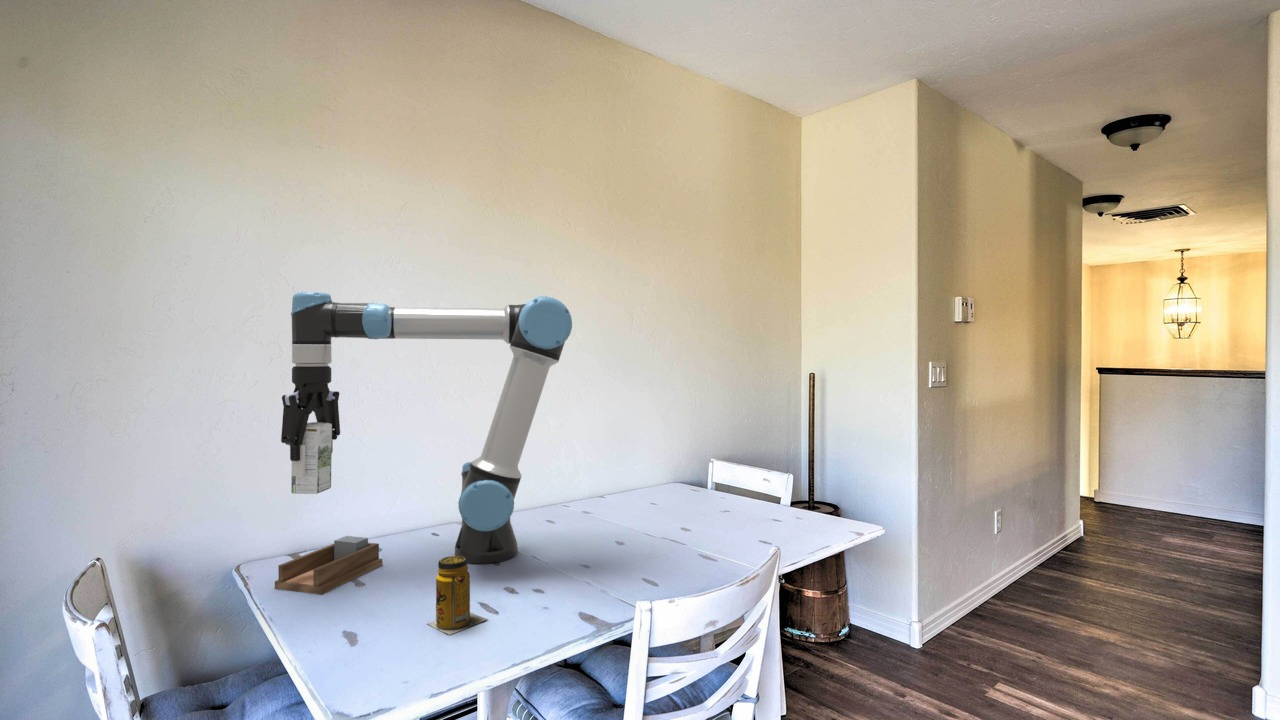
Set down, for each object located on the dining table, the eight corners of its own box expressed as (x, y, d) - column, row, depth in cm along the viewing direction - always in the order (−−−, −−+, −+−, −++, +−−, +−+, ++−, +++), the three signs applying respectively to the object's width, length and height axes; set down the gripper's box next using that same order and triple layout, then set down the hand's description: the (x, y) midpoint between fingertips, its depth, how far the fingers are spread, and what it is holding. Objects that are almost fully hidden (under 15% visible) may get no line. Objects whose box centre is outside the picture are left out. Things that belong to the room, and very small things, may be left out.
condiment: (426, 624, 120) (426, 560, 119) (465, 610, 126) (465, 549, 126) (449, 636, 115) (449, 568, 115) (488, 620, 121) (488, 557, 121)
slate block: (368, 559, 151) (368, 538, 151) (356, 564, 147) (356, 542, 147) (346, 556, 153) (346, 535, 153) (334, 562, 149) (334, 540, 149)
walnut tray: (382, 565, 151) (382, 544, 151) (321, 594, 133) (321, 570, 133) (339, 560, 155) (339, 539, 155) (274, 588, 137) (274, 564, 136)
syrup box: (305, 488, 141) (305, 421, 141) (332, 488, 141) (332, 422, 141) (290, 494, 136) (290, 425, 135) (318, 494, 135) (318, 425, 135)
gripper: (331, 364, 148) (331, 464, 149) (259, 366, 130) (259, 480, 130) (358, 364, 146) (358, 465, 147) (289, 366, 127) (289, 483, 128)
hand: (312, 472), depth 138 cm, fingers closed on syrup box, 7 cm apart
